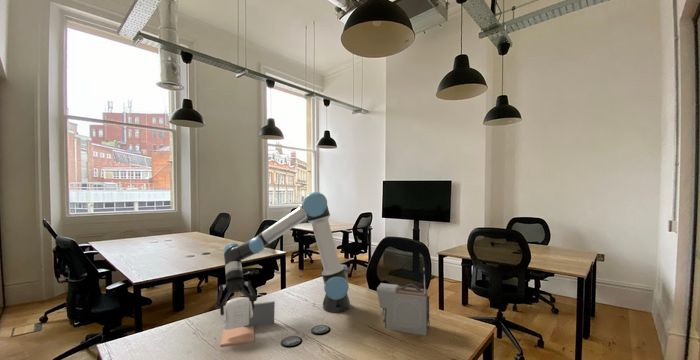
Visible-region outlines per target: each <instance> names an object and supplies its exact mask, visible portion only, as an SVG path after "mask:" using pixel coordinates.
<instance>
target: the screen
mask: <svg viewBox="0 0 700 360" xmlns="http://www.w3.org/2000/svg"><path fill="white" fill-rule="evenodd" d="M271 324H275V300H274V301H266V302H265V301H264V302H254V309H253V317H252V318H250V314H249V325H247V326H243V327H249V326H254V327H256V326H257V327H258V326H265V325H271Z"/></svg>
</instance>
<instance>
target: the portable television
mask: <svg viewBox="0 0 700 360" xmlns="http://www.w3.org/2000/svg"><path fill="white" fill-rule="evenodd" d="M422 268H423V270H425V267H422ZM376 293H377V299H378V303H379V307H380V309H381V310H380V315H381V316H383V317H384V319H383V320H382V322H383V323H384V328H385V329H387V330H389V329H390V330H391V331H397V332H401V331H403V332H404V333H407V332H408V333H407V334H409V333H410V334H414V335H420V336H421V335H422V336H427V332H428V328H429V329H430V326H429V325H430V324H431V320H430V297H431V296H430V295H429V293H428V289H427V288H426V278H425V275H423V288H420V287H418V286H416V284H414V283H409V284H406V285H404V286H401V285H399V284H395V283H394V284H393V283H384V282H380V284H378V286H377V287H376Z"/></svg>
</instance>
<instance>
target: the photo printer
mask: <svg viewBox="0 0 700 360" xmlns="http://www.w3.org/2000/svg"><path fill="white" fill-rule="evenodd" d="M225 308H226V323H224V330H229V329H234V328H241V327H243V326H247V325H249V314H250V301H249V298H247V297H245V296H241V297H239V296H238V297H234V298H232V299H229V300H228V301H226V303H225Z"/></svg>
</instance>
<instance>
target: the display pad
mask: <svg viewBox="0 0 700 360" xmlns="http://www.w3.org/2000/svg"><path fill="white" fill-rule="evenodd" d="M254 328H255V326H249V327H238V328H234V329H229V330H226V329H223V331H222V335H221V339H220V340H221V341H220V343H219V344H220V345H219V346H220V347H224V346H231V345H238V344H245V343H249V342H250V343H251V342H254V341H255V340H254V339H255V338H254V337H255V336H254V335H255V333H254V332H255V331H254V330H255V329H254Z"/></svg>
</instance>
